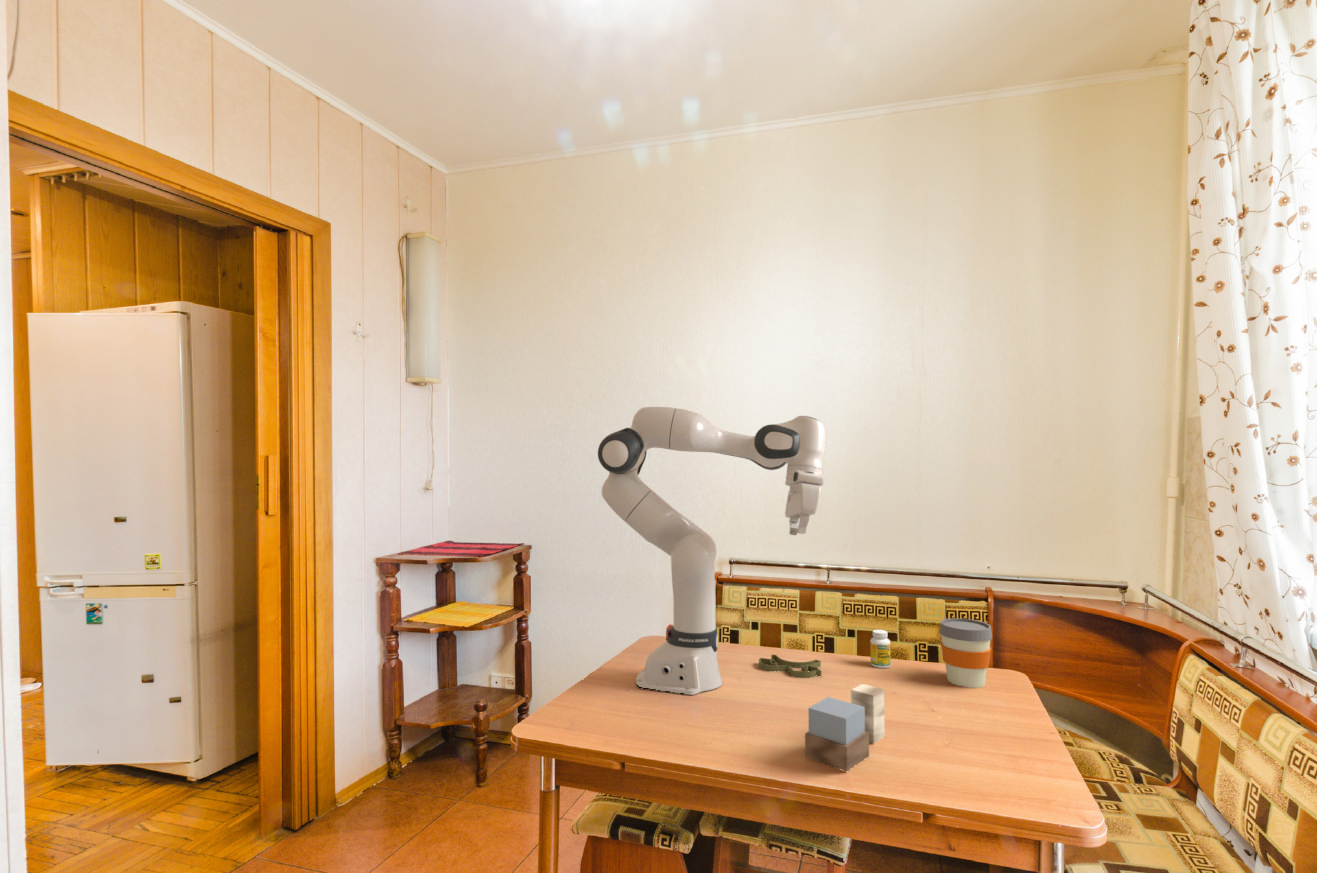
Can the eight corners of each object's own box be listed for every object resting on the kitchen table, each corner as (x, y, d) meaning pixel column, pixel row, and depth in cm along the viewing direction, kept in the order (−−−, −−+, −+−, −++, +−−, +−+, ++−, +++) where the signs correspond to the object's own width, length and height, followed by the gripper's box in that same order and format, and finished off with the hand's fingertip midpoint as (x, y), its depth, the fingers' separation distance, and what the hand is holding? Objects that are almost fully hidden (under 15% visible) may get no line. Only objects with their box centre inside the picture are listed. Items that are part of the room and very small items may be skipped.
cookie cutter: (827, 668, 188) (827, 661, 188) (819, 682, 177) (818, 674, 178) (764, 660, 196) (764, 653, 196) (753, 672, 185) (753, 665, 185)
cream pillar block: (851, 737, 143) (851, 689, 143) (862, 730, 146) (862, 683, 146) (873, 744, 139) (873, 695, 139) (884, 736, 143) (884, 689, 143)
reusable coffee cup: (1002, 683, 175) (1001, 625, 175) (975, 694, 168) (974, 633, 168) (957, 670, 185) (957, 615, 185) (930, 679, 178) (929, 622, 178)
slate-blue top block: (808, 733, 133) (808, 708, 133) (828, 721, 139) (828, 697, 139) (846, 745, 128) (845, 718, 128) (864, 732, 134) (864, 706, 134)
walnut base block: (805, 759, 133) (805, 733, 133) (828, 744, 140) (828, 720, 140) (847, 774, 127) (846, 747, 127) (869, 758, 134) (868, 732, 134)
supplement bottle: (883, 662, 193) (883, 628, 193) (894, 668, 187) (894, 633, 188) (866, 663, 191) (866, 629, 192) (877, 669, 186) (876, 634, 186)
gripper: (783, 482, 181) (776, 534, 178) (800, 472, 161) (793, 530, 158) (806, 486, 181) (800, 537, 178) (826, 477, 161) (819, 534, 158)
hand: (797, 534), depth 168 cm, fingers open, 8 cm apart
